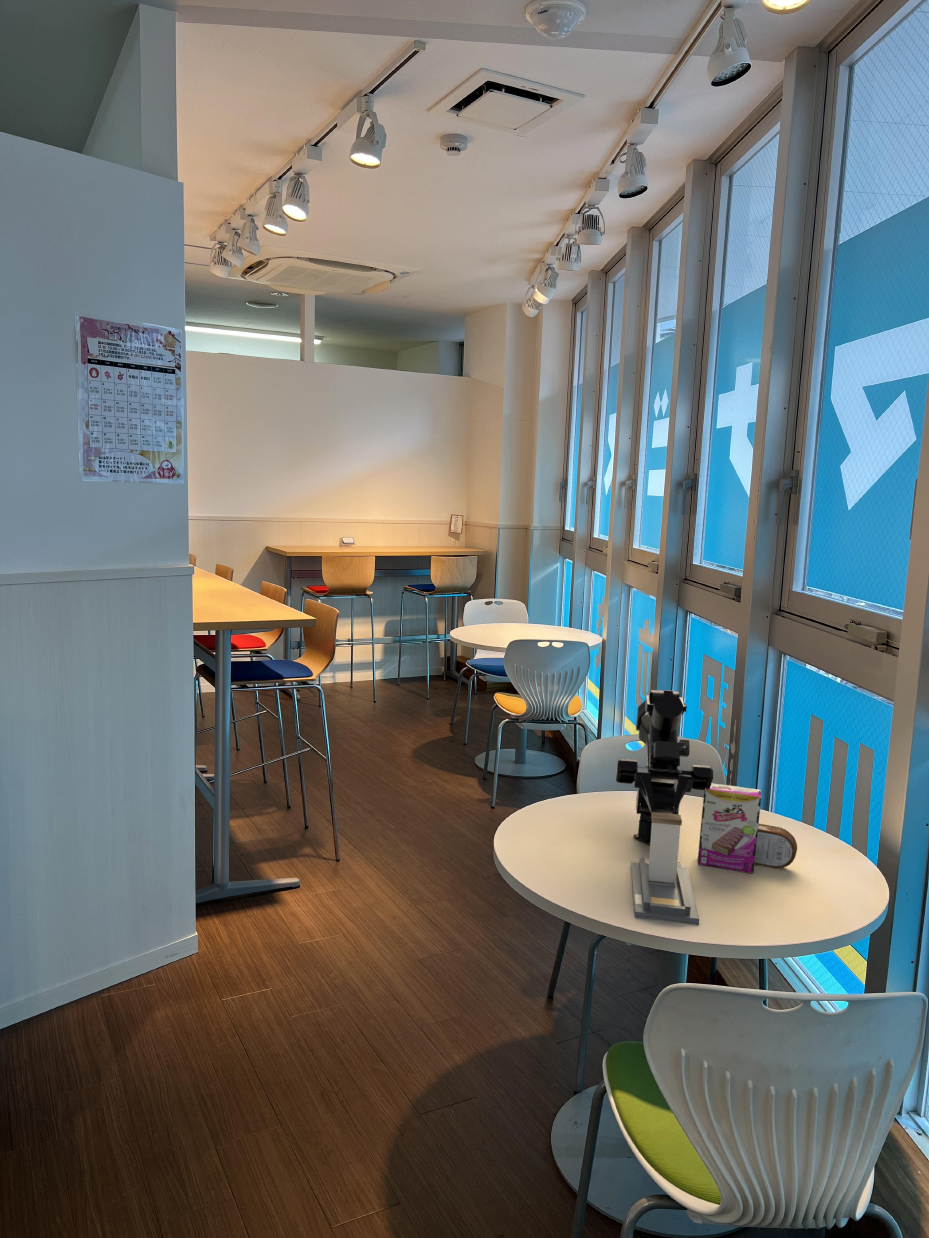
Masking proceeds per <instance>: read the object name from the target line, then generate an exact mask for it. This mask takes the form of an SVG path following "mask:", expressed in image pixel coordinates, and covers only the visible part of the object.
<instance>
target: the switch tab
mask: <svg viewBox="0 0 929 1238" xmlns="http://www.w3.org/2000/svg"><path fill="white" fill-rule="evenodd" d="M651 819H652V829H651V842H650V844H649V859H648V864H649V870H648V878H649V881H659V882H668V883H676V874H677V861H679V860H678V859H679V858H678V856H679V847H680V834H681V832H680V831H681V826H682V822H683V820H682V816H681V814H678V815H676V814H665V813H655V812H651Z"/></svg>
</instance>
